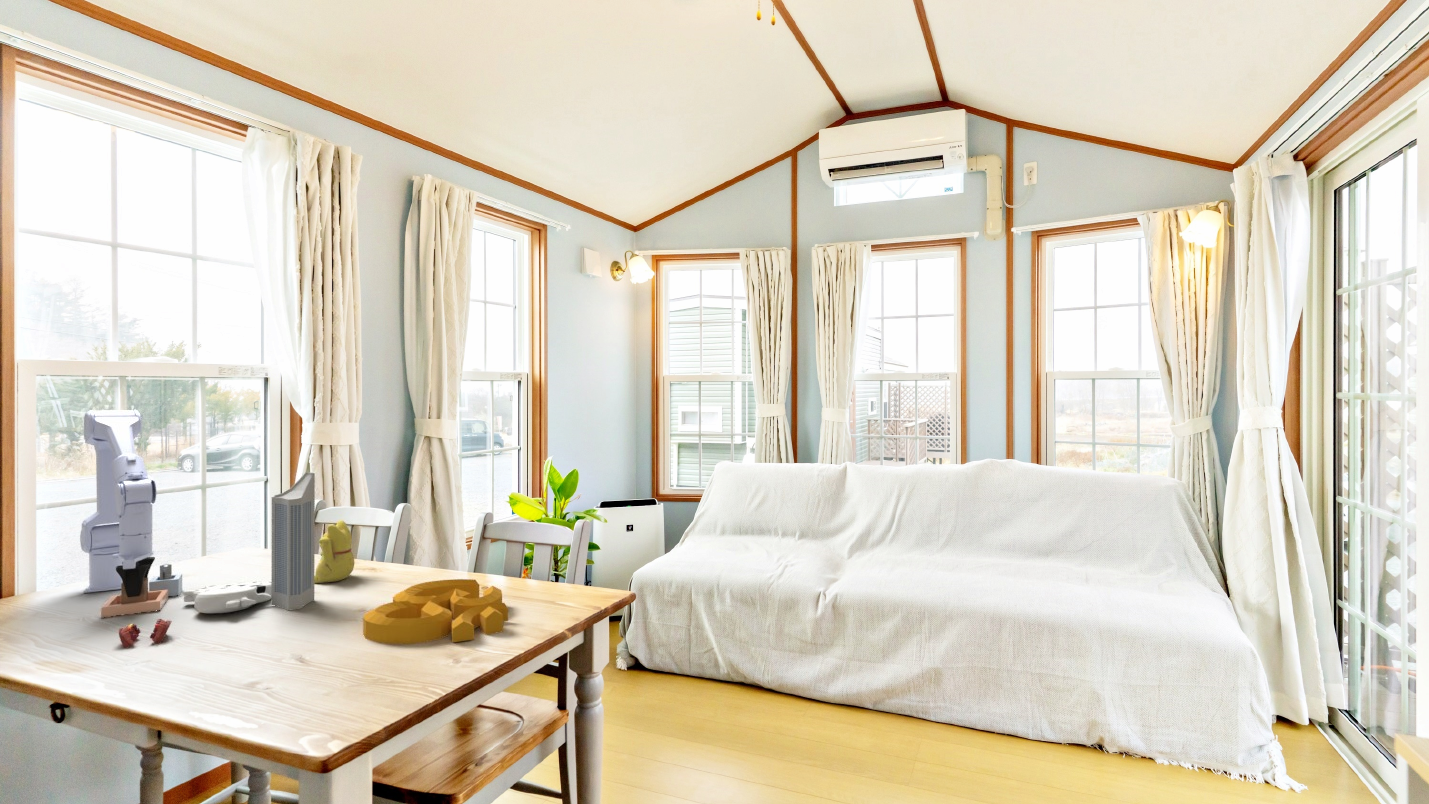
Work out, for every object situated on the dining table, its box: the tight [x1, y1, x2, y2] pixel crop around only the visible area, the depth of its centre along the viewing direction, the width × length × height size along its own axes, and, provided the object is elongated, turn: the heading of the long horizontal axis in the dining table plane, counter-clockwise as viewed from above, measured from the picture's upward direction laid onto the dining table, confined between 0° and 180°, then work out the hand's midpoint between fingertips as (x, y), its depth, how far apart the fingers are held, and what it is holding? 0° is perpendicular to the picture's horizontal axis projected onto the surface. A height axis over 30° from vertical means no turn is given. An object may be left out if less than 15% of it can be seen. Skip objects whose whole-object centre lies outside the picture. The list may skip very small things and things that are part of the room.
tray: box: [100, 590, 169, 619], centre depth 155 cm, size 10×10×2 cm
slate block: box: [148, 573, 183, 597], centre depth 166 cm, size 6×6×4 cm
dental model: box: [118, 618, 172, 649], centre depth 136 cm, size 6×4×8 cm
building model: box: [270, 471, 316, 611], centre depth 159 cm, size 8×8×30 cm
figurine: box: [314, 519, 355, 584], centre depth 179 cm, size 11×9×15 cm
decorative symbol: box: [362, 578, 509, 645], centre depth 150 cm, size 30×5×30 cm
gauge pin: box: [159, 563, 173, 580], centre depth 165 cm, size 2×2×7 cm
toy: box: [182, 581, 272, 614], centre depth 158 cm, size 22×5×20 cm
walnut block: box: [120, 576, 149, 604], centre depth 155 cm, size 4×4×5 cm
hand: (136, 593), depth 155 cm, fingers closed on walnut block, 4 cm apart
